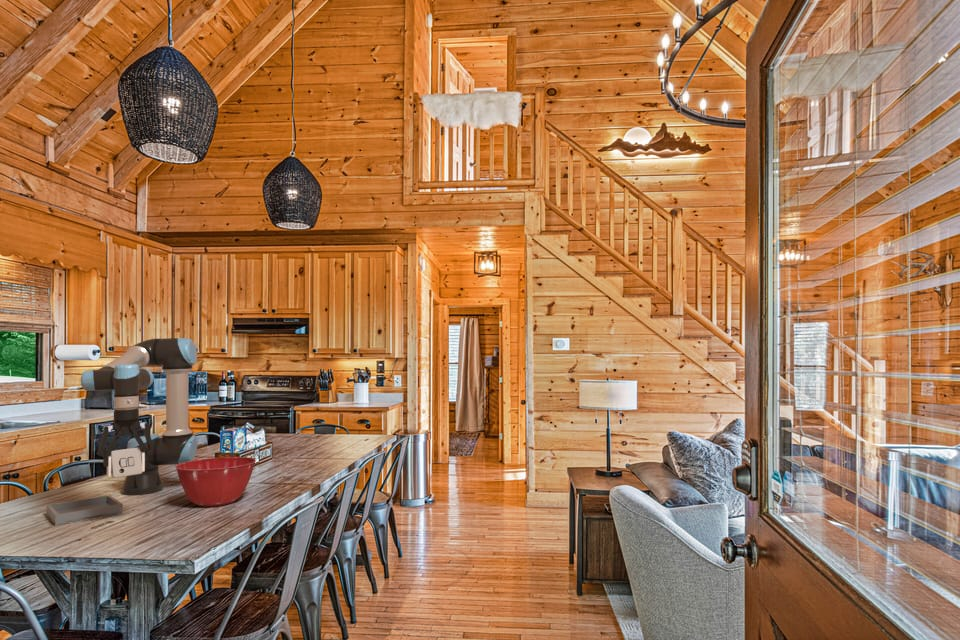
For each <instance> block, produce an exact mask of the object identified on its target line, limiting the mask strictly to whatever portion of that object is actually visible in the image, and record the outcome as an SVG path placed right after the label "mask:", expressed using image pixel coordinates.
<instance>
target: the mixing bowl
mask: <svg viewBox="0 0 960 640" xmlns="http://www.w3.org/2000/svg"><path fill="white" fill-rule="evenodd" d="M256 461H257V460H256V458H253V457H249V456H248V457H247V456H246V457H245V456H224V457H223V456H221V457H211V458H210V457H209V458H201V459H195V460H194V459H193V460H192V461H189V462H185V463H181V464H179V465H178V464H176V466H175V469H176V472H177V475H178V480H179V482H180V484H181V486H182V489H183V491H184V493H185V495H186V497H187V498H188V499H189V501H191V502H192V503H193V504H195V505H197V506H199V507H206V508H207V507H209V508H210V507H218V506H219V507H220V506H224V505H225V506H226V505H230V504H232V503H234V502H235V501H236V500H238V499H239V498H241V497H242V495H243V494H244V492H245V491H246V488H247V486H248V485H249V482H250V479H251V477H252V474H253V471H254V467H255V463H256Z"/></svg>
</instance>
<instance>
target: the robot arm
mask: <svg viewBox="0 0 960 640" xmlns="http://www.w3.org/2000/svg"><path fill="white" fill-rule="evenodd" d="M197 361H198V351H197V347H196V343H195V342H194V341H193V340H192V339H191V338H183V337H178V338H177V337H174V338H170V337H169V338H151V339H150V338H149V339H146V340H143V341H141V342H138V343H136V344H134V345H131V346H130V347H128V348H127V349H126V350H125V351H124V354H122V355H120V356H118V357H116V358H115V359H113V360H112V361H110V362H108V363H107V364H105V365H104V366H102V367H100V368H98V369H88V370H87V369H86V370H85V371H83V372H82V374H81V376H80V386H81V388H82V389H83V390H84V391H89V392H90V391H91V392H92V391H94V392H99V391H102V392H103V391H113V408H114V410H113V423H112V424H111V425H104V426H102V435H101V439H100V442H99V445H98V449H97V452H96V455H97V456H99V457H103V460H102V461H103V462H102V463H103V464H102V465H103V466H104V467H106V476H107V477H112V471H111V456H110V453H111V451H113V449H114V447H115V446H116V445H117V442H118V441H119V439H120V438H121V437H125V436H133V437H132V438H130V439H129V440H128V442H127V446H126V449H130V448H138V447H139V448H140V450H141V460H142V470H143V472H142V473H141V474H137V475H131V476H125V478H124V481H123V484H122V488H121V494H122V495H124V496H139V495H146V494H152V493H153V494H154V493H157V492H159V491H162V490H163V489H164V482H163V480H162V477H161V473H160V472H159V471H160V470H159V466H170V465H173V466H174V465H179V464H181V463H185V462H189V461H194V459H195V457H196V454H197V451H198V446H199V444H198V442H199V439H198V437H197V436H195V435H193V430H192V429H190V428H189V427H190V425H189V419H190V418H189V373H190V372H191V371H193V366H194V365H196V364H197ZM148 366H150V367H151V366H155V367H159V366H161V371H163V372H164V373H165V411H166V413H165V419H166V420H165V425H166V426H165V430H164V432H162V434H161V437H160V435H159V434H158V433H153V434H151V433H150V430H149V428H150V427H149V426H150V423H149V422H146V421H145V422H140V420H139V418H140V417H139V416H140V411H139V410H140V409H139V408H138V407H139V406H140V404H139V403H140V402H139V401H140V399H139V397H140V390H145V389H147V388H149V387H150V386H151V385H153V382H154V381H155V377H154V374H153V372H152V371H151V370H150V369H147V368H144V367H148ZM139 427H140V428H141V429H142V431H143V435H142V436H140V434H139V433H138V431H137V430H138V429H139ZM112 430H113V431H114V432H115V433H114V434H113V437H112V438H111V440H110V442H108V443H109V444H108V445H107V447H106V444H107V440H108V438H109V436H110V435H109V433H111V431H112ZM130 458H131V457H130Z"/></svg>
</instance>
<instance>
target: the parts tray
mask: <svg viewBox="0 0 960 640" xmlns="http://www.w3.org/2000/svg"><path fill="white" fill-rule="evenodd" d="M123 507H124V505H123V503H122V502H120V501H119V500H118V499H117V498H116V497H114V496H112V495H111V494H109V495H102V496H96V497H90V498H83V499H75V500H71V501H65V502H64V501H63V502H58V503H52V504H46V514H47V515H48V516H47V515H46V516H47V517H48V519H49V518H50V519H51V520H52V521H51V520H50V519H49V520H50V521H51V523H52V524H53V523H54V524H55V525H58V526H60V525H59V524H63V525H65V524H64V523H69V522H74V523H76V522H75V521H80V520H85V521H88V520H87V519H91V520H95V519H94V518H96V519H100V517H102V518H106V517H107V516H108V517H113V516H117V515H123V509H124V508H123ZM80 522H81V521H80ZM54 524H53V525H54ZM69 524H70V523H69ZM55 525H54V526H55Z"/></svg>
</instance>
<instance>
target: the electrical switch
mask: <svg viewBox="0 0 960 640" xmlns="http://www.w3.org/2000/svg"><path fill="white" fill-rule="evenodd" d="M109 456H111V477H112V478H114V479H117V478H123V477H125V478H126V476H131V475H137V474H141V473H142V472H143V470H142V460H141V450H140V448H139V447H138V448H130V449H127V448H124V449H115V450H112V451H111V453H110V454H109ZM130 457H131V458H130Z"/></svg>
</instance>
